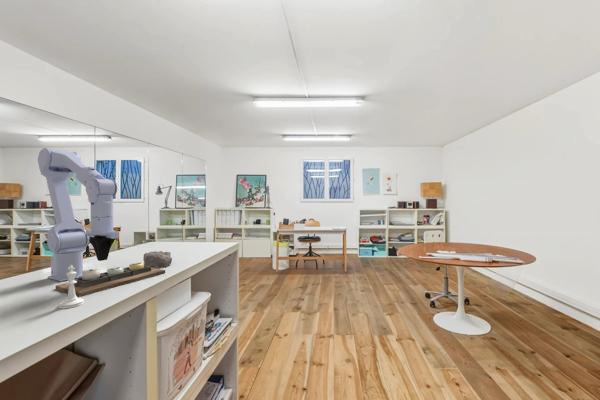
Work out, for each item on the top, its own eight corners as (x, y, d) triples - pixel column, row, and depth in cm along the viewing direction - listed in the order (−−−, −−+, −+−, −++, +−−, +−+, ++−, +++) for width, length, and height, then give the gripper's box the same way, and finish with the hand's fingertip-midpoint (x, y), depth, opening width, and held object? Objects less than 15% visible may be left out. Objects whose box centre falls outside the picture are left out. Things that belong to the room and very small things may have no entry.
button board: (55, 289, 81) (55, 280, 81) (141, 268, 104) (140, 261, 104) (80, 296, 75) (80, 286, 74) (165, 273, 98) (165, 265, 98)
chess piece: (69, 309, 66) (69, 268, 66) (53, 307, 67) (52, 267, 67) (89, 301, 71) (88, 263, 71) (73, 300, 72) (73, 262, 72)
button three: (126, 271, 95) (126, 264, 95) (139, 268, 98) (138, 261, 98) (134, 273, 93) (134, 265, 93) (146, 270, 96) (146, 262, 96)
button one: (78, 279, 82) (78, 270, 82) (95, 275, 86) (95, 267, 86) (86, 281, 80) (86, 272, 80) (103, 277, 84) (103, 268, 84)
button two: (104, 277, 88) (104, 269, 88) (118, 273, 92) (118, 265, 92) (112, 278, 86) (112, 270, 86) (126, 275, 90) (126, 267, 90)
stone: (173, 266, 108) (172, 251, 108) (144, 270, 102) (143, 255, 102) (170, 262, 114) (169, 248, 114) (143, 266, 109) (142, 251, 109)
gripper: (74, 217, 85) (75, 260, 85) (101, 218, 79) (101, 265, 79) (99, 215, 92) (99, 256, 92) (126, 216, 85) (126, 260, 85)
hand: (102, 260), depth 86 cm, fingers closed
